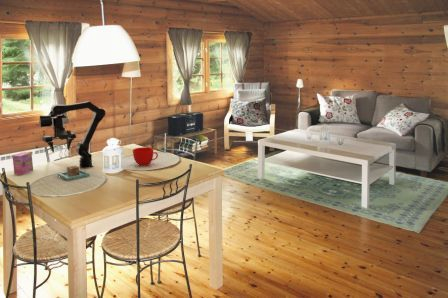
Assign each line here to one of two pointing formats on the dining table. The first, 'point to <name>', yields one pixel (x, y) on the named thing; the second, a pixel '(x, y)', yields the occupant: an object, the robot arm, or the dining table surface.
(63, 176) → the tray
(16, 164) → the box
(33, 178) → the dining table surface
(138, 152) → the ceramic cup
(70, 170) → the cube
